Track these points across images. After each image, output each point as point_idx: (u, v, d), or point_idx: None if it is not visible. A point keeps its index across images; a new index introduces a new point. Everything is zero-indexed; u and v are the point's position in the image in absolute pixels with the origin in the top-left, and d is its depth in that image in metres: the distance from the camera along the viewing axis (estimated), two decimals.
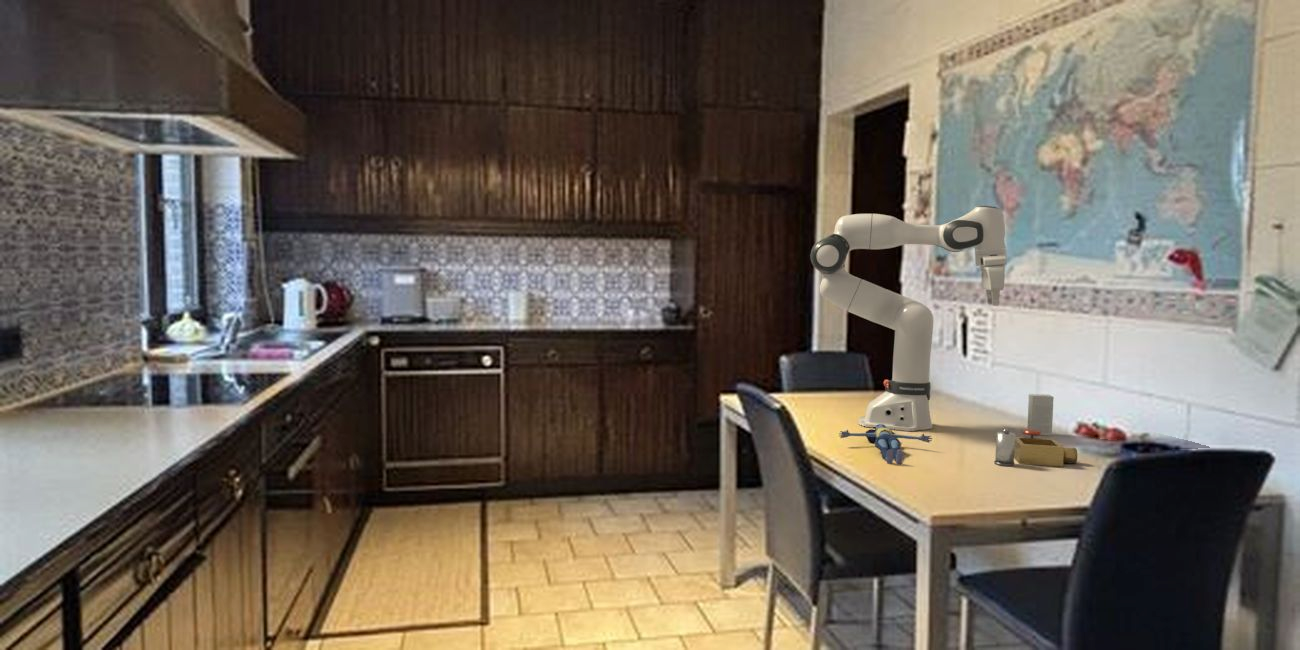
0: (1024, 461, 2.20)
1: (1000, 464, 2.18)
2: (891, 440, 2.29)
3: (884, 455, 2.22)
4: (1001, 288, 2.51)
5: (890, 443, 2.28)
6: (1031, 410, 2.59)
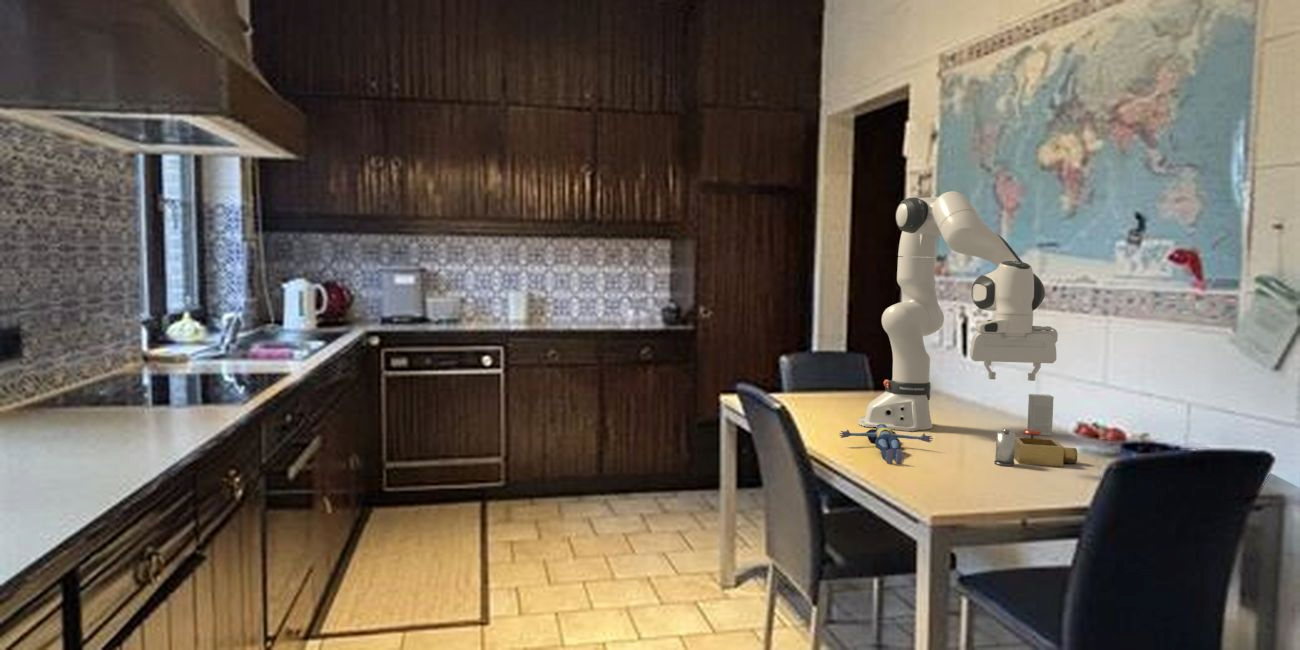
0: (1024, 461, 2.20)
1: (1000, 464, 2.18)
2: (891, 440, 2.29)
3: (884, 455, 2.22)
4: (972, 358, 2.19)
5: (890, 443, 2.28)
6: (1031, 410, 2.59)
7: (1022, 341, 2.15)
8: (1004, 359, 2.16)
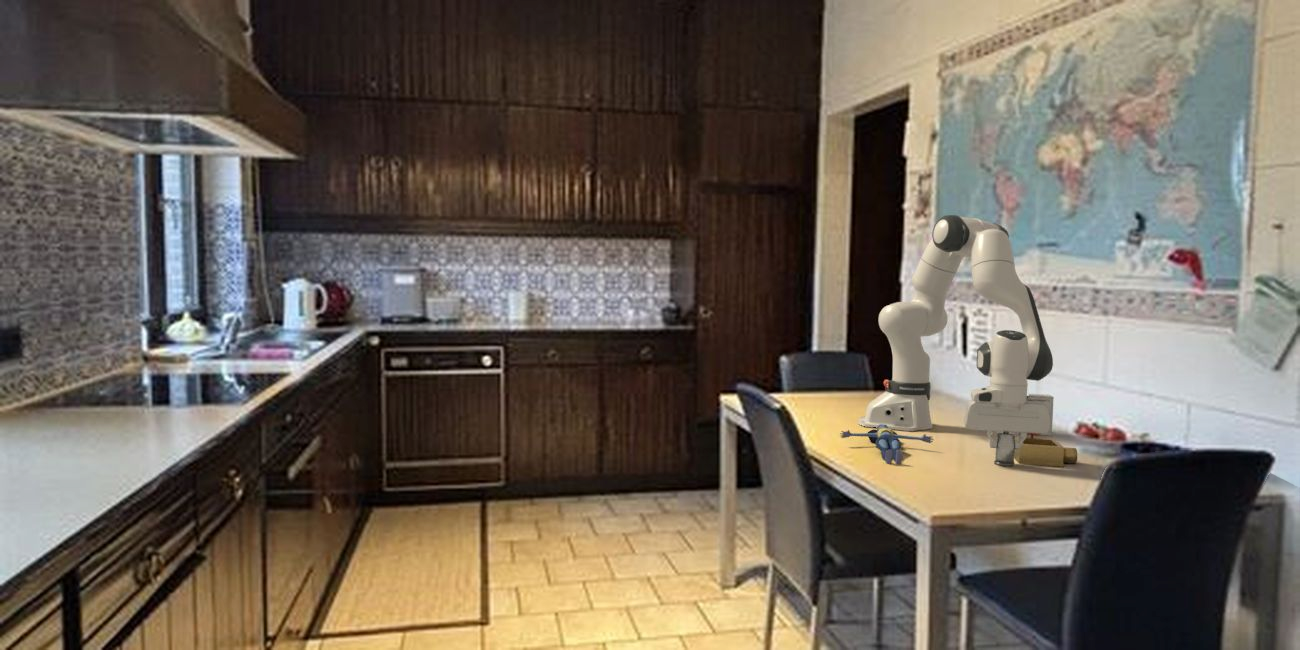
0: (1024, 461, 2.20)
1: (1000, 464, 2.18)
2: (892, 440, 2.29)
3: (884, 455, 2.22)
4: (966, 426, 2.20)
5: (890, 443, 2.28)
6: None
7: (1016, 411, 2.16)
8: (997, 428, 2.17)
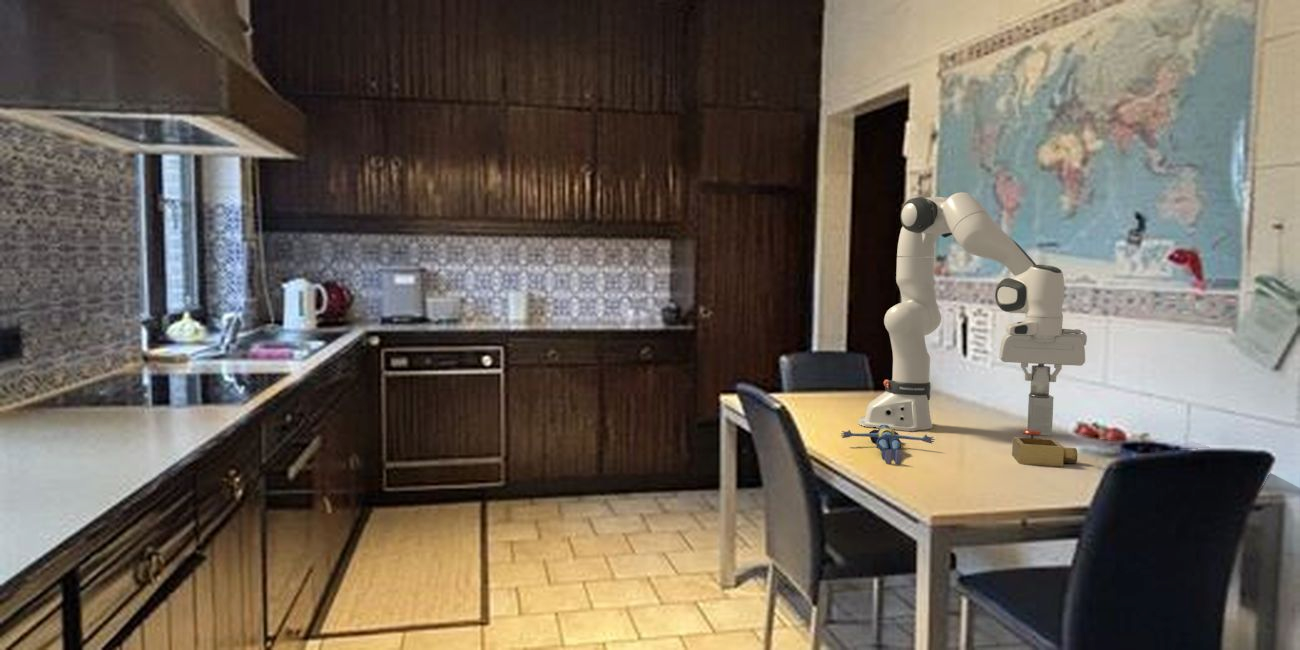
0: (1024, 461, 2.20)
1: (1035, 396, 2.21)
2: (892, 440, 2.28)
3: (884, 455, 2.21)
4: (1001, 359, 2.23)
5: (891, 443, 2.27)
6: (1031, 410, 2.59)
7: (1051, 343, 2.20)
8: (1033, 361, 2.21)
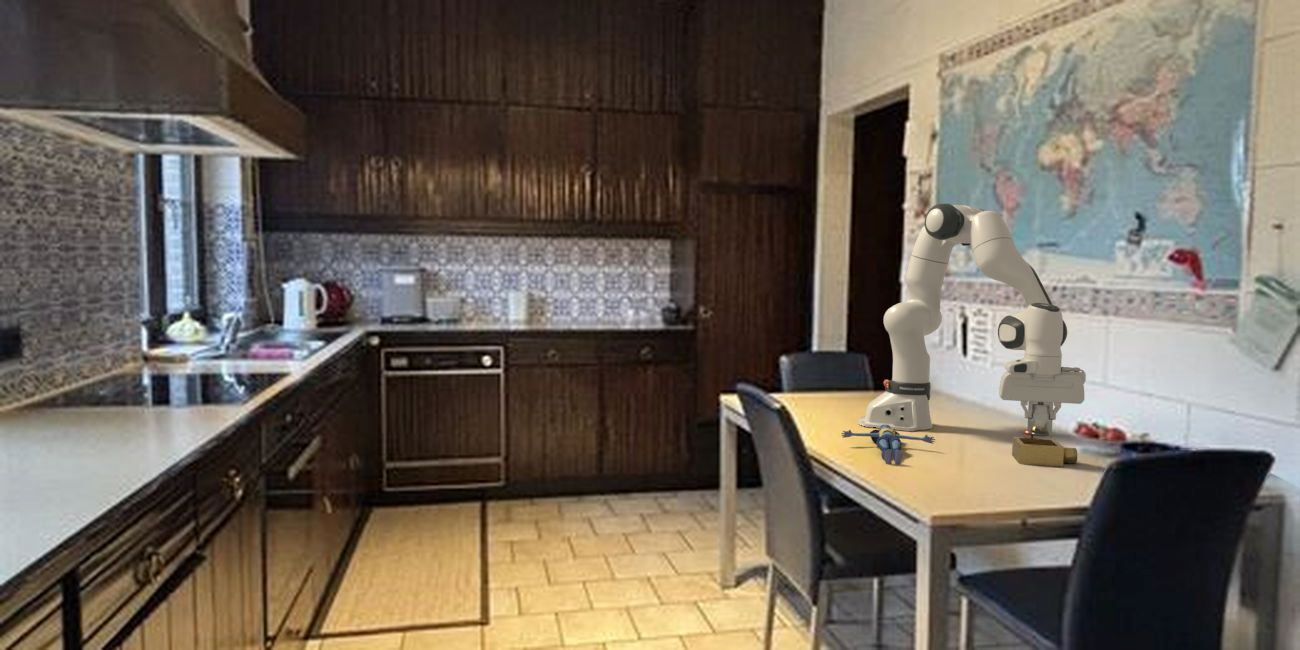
0: (1024, 461, 2.20)
1: (1035, 434, 2.22)
2: (892, 440, 2.28)
3: (883, 455, 2.21)
4: (1001, 397, 2.24)
5: (891, 443, 2.27)
6: None
7: (1051, 382, 2.21)
8: (1032, 399, 2.22)
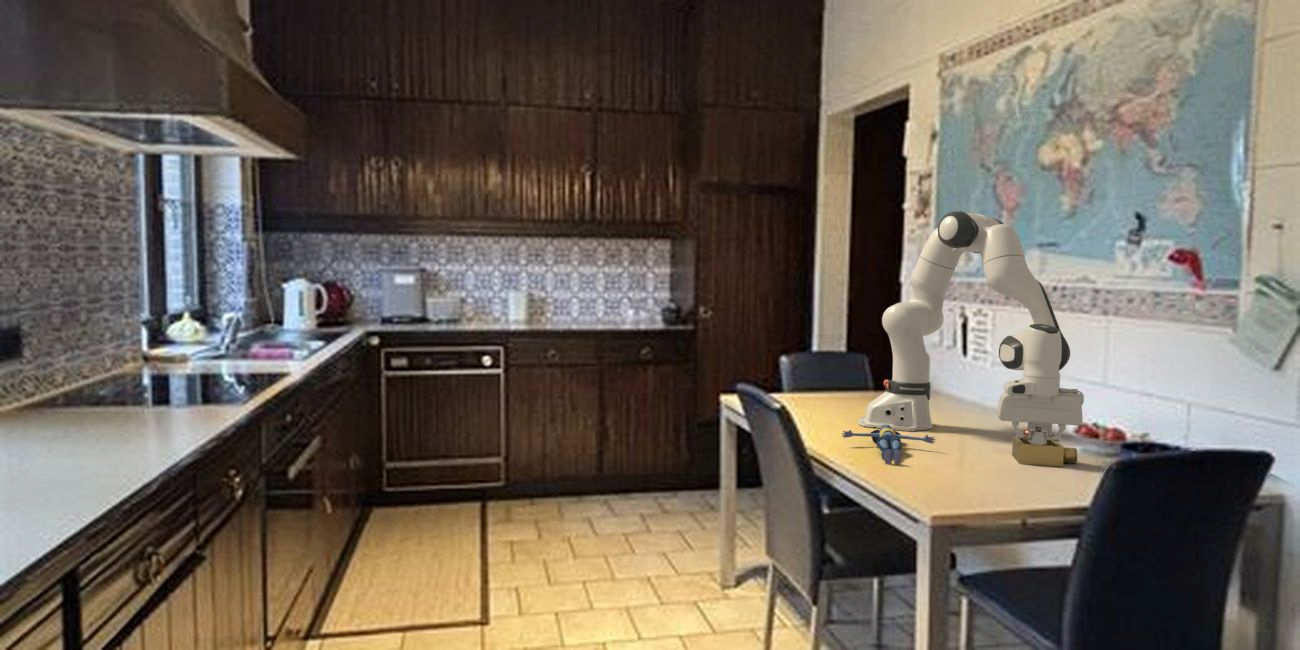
0: (1024, 461, 2.20)
1: None
2: (892, 440, 2.28)
3: (883, 455, 2.21)
4: (999, 418, 2.25)
5: (891, 443, 2.27)
6: None
7: (1049, 403, 2.21)
8: (1030, 420, 2.22)
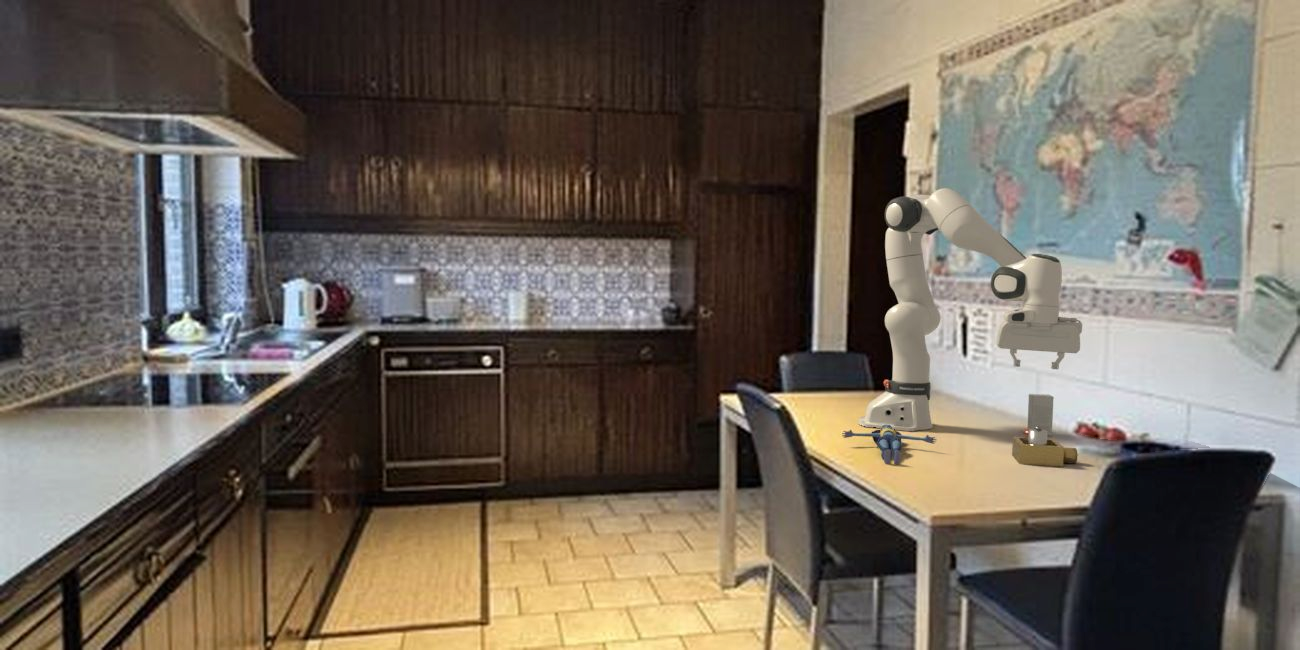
0: (1024, 461, 2.20)
1: None
2: (893, 441, 2.28)
3: (883, 455, 2.21)
4: (998, 346, 2.29)
5: (891, 443, 2.27)
6: (1031, 410, 2.59)
7: (1047, 331, 2.25)
8: (1029, 348, 2.26)
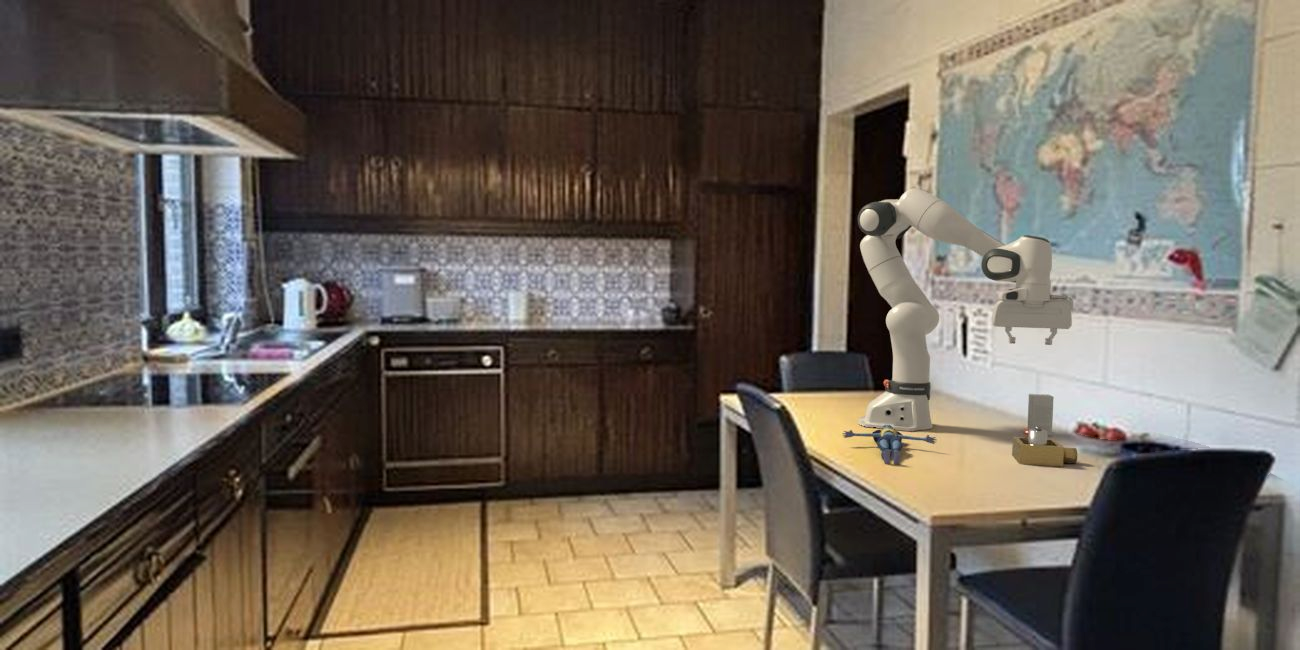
0: (1024, 461, 2.20)
1: None
2: (893, 441, 2.28)
3: (883, 455, 2.21)
4: (994, 324, 2.39)
5: (891, 443, 2.27)
6: (1031, 410, 2.59)
7: (1040, 308, 2.36)
8: (1023, 325, 2.37)
